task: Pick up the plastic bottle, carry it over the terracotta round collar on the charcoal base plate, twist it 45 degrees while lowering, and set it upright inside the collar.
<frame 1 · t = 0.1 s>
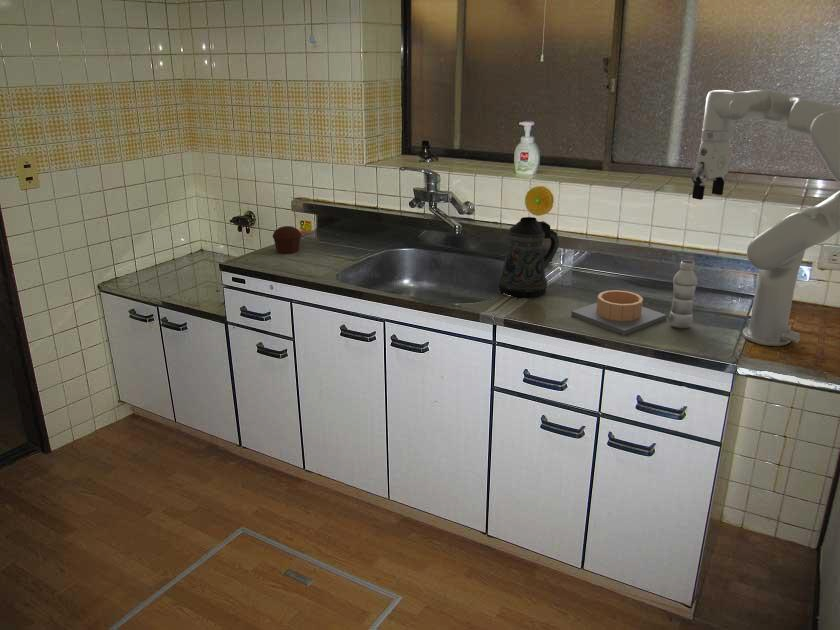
hand: (707, 196, 207), 37 cm above the counter, tool pointing down, fingers open, 9 cm apart
muffin: (288, 251, 290), on the counter
beer stein: (525, 290, 243), on the counter
duct base: (618, 317, 218), on the counter
plastic bottle: (679, 327, 211), on the counter
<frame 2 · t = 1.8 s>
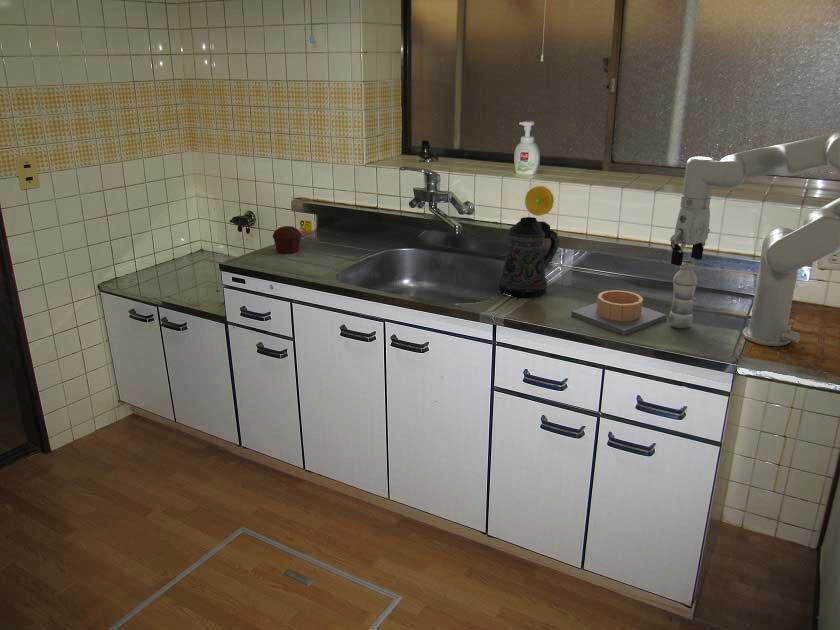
hand: (686, 261, 203), 20 cm above the counter, tool pointing down, fingers open, 9 cm apart
nothing on the counter moved.
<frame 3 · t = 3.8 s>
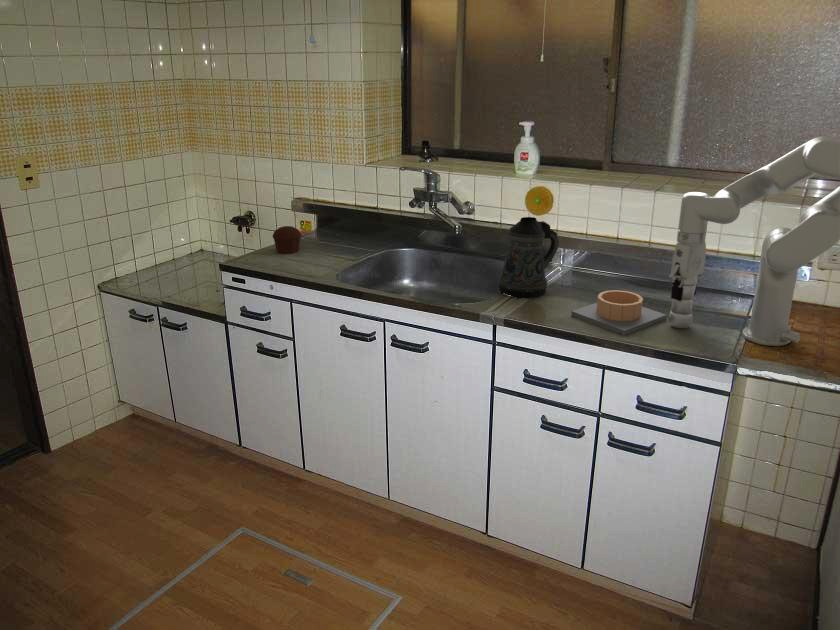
hand: (683, 296, 207), 10 cm above the counter, tool pointing down, fingers closed on plastic bottle, 6 cm apart
plastic bottle: (679, 327, 211), on the counter, touching gripper
everything else where it was.
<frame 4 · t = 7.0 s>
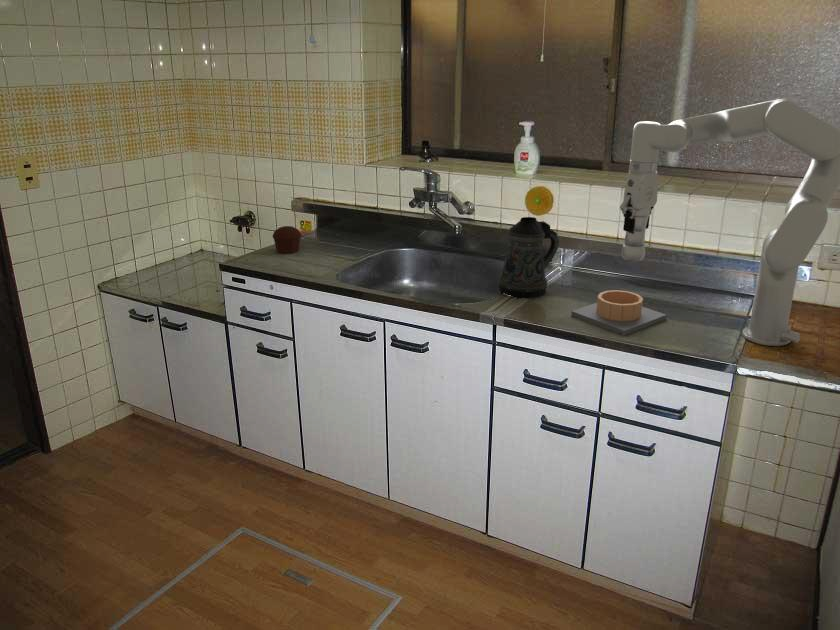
hand: (635, 228, 207), 28 cm above the counter, tool pointing down, fingers closed on plastic bottle, 6 cm apart
plastic bottle: (632, 261, 210), point 18 cm above the counter, touching gripper
everything else where it was.
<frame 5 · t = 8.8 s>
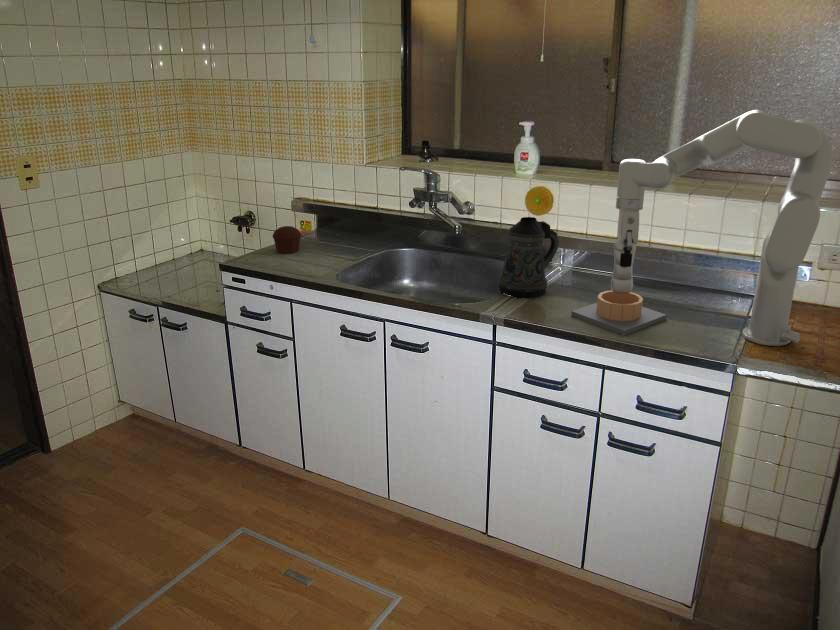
hand: (623, 262, 211), 18 cm above the counter, tool pointing down, fingers closed on plastic bottle, 6 cm apart
plastic bottle: (620, 293, 215), point 8 cm above the counter, touching gripper
everything else where it was.
when the fingers open (12 cm above the counter, at t = 10.5 s): plastic bottle drops 1 cm, resting on duct base.
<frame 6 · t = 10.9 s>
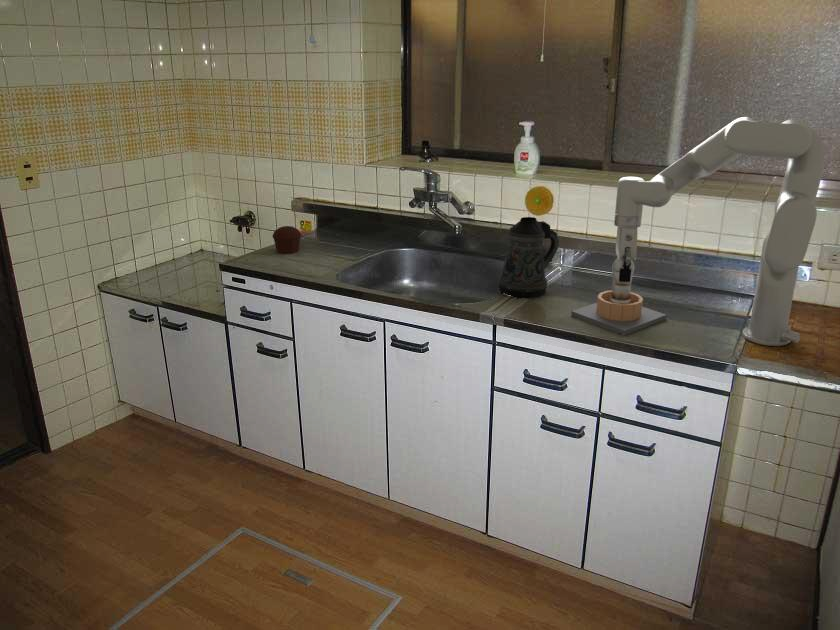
hand: (622, 276, 213), 13 cm above the counter, tool pointing down, fingers open, 9 cm apart
plastic bottle: (619, 312, 218), point 1 cm above the counter, touching duct base
everything else where it was.
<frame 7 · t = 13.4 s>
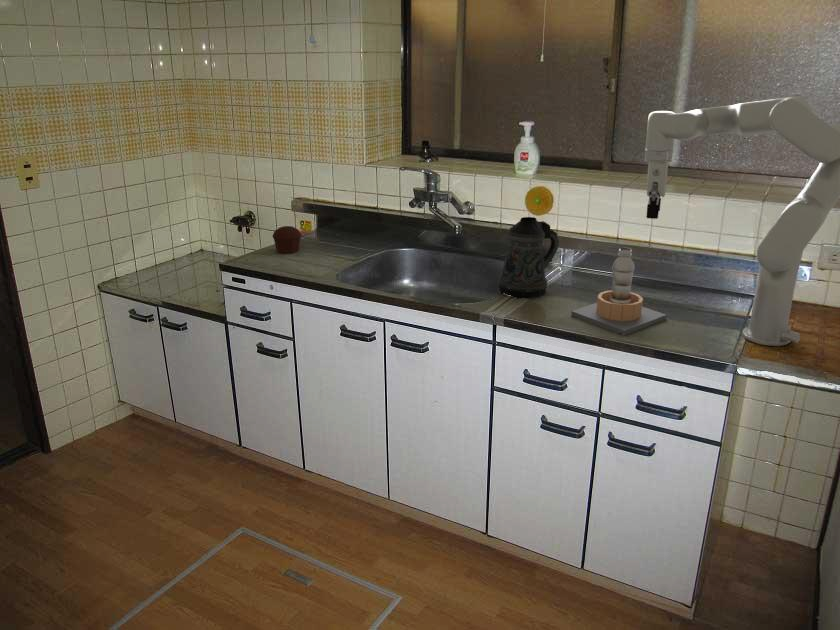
hand: (653, 214, 210), 31 cm above the counter, tool pointing down, fingers open, 9 cm apart
nothing on the counter moved.
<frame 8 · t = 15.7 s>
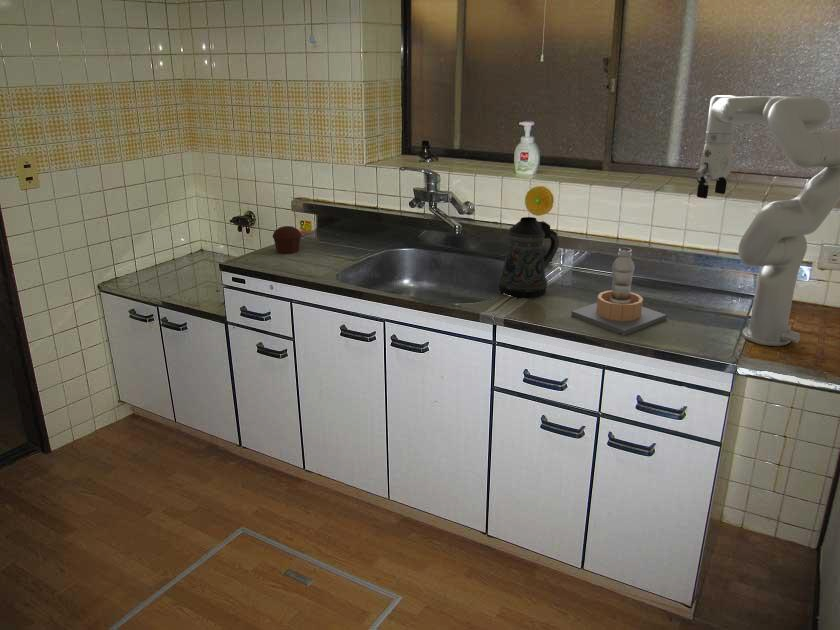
hand: (710, 195, 219), 34 cm above the counter, tool pointing down, fingers open, 9 cm apart
nothing on the counter moved.
at the end: plastic bottle 0.6 cm off-centre on the duct base, point 1.3 cm above the duct base's base; plastic bottle tilted 0°; the gripper is holding nothing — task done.
